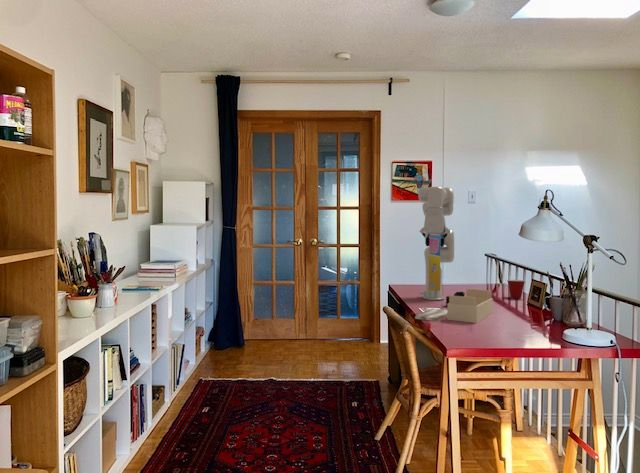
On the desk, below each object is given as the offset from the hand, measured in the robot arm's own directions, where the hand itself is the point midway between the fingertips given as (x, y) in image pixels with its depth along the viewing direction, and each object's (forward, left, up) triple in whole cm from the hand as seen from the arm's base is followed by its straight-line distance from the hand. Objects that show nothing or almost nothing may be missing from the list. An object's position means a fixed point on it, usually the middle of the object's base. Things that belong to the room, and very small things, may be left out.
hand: (434, 246), depth 262 cm
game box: (0, 0, -22) cm, 22 cm away
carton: (+16, +9, -36) cm, 40 cm away
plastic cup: (+23, +79, -36) cm, 90 cm away
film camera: (+1, +31, -36) cm, 48 cm away
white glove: (0, 0, -36) cm, 36 cm away
